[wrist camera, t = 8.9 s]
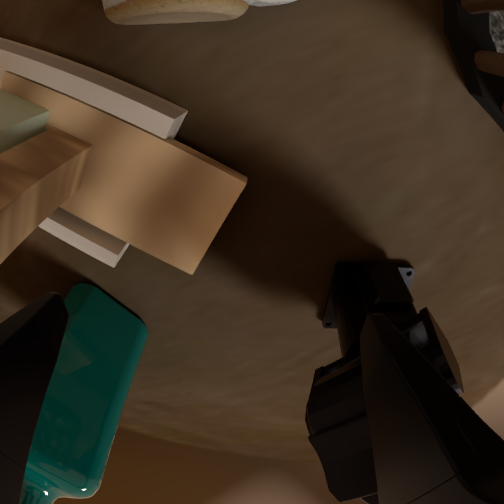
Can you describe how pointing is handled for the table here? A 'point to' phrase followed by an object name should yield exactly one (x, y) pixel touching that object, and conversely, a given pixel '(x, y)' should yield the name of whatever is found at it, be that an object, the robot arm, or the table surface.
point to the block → (19, 120)
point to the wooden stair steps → (112, 180)
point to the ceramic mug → (178, 10)
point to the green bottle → (83, 398)
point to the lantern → (479, 49)
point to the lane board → (103, 97)
